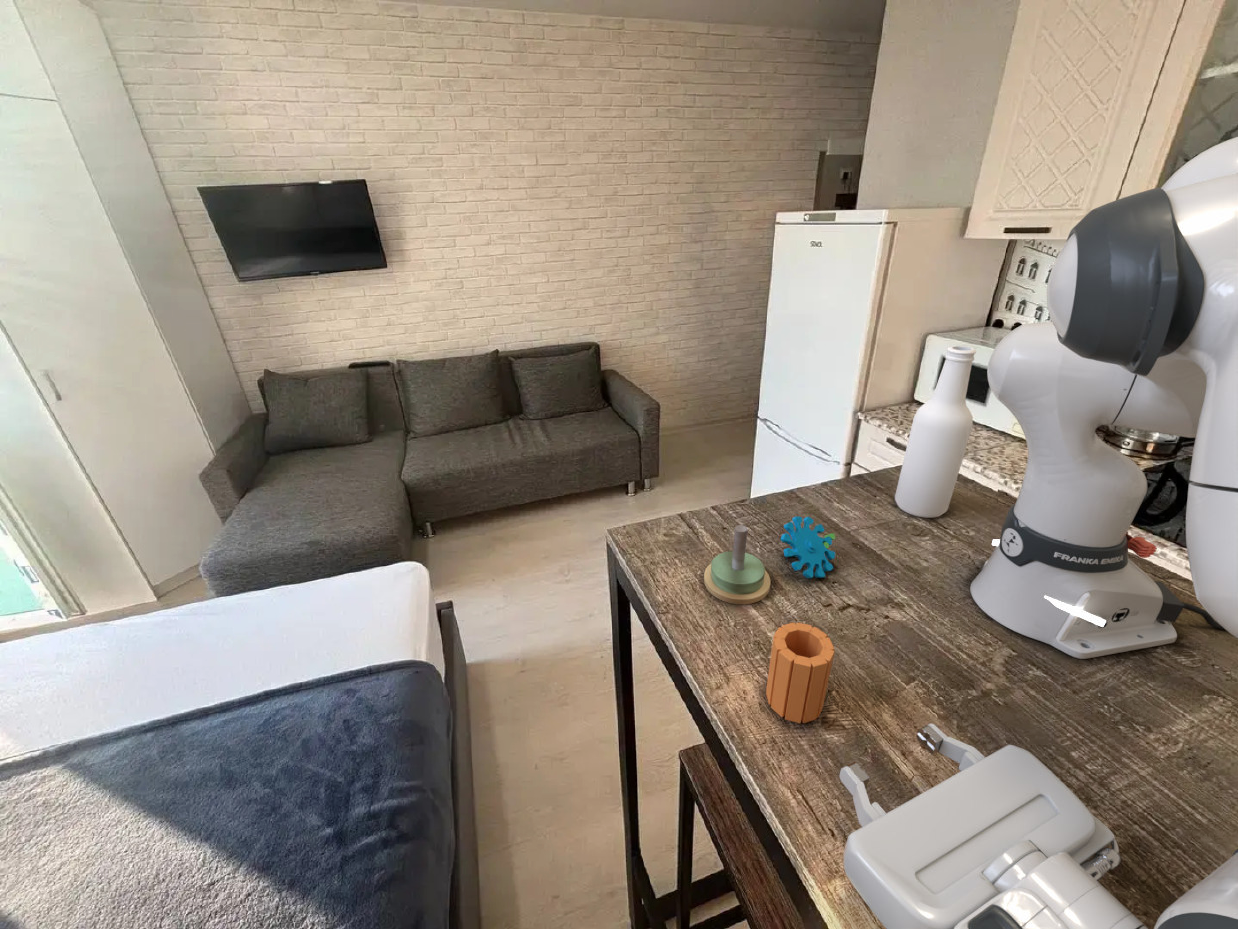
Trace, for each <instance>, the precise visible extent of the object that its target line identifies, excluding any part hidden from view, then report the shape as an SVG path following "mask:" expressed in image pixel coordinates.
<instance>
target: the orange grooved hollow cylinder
mask: <svg viewBox="0 0 1238 929" xmlns="http://www.w3.org/2000/svg"><path fill="white" fill-rule="evenodd" d="M770 652H771V653H770V661H769V666H768V674H767V680H766V681H767V682H766V691H765V696H766V699H767V702H768V705H769V706H770V708H771V709H772V710H773V711H774V713H776V714H777V715H778V716H780V718H784V720H786V721H789V722H793V723H797V724H801V723H802V724H806V723H809V722H812V721H815V720H817V719H818V718H819V717H820V715H821V712H822V711H823V709H824V705H825V700H826V695H827V691H828V686H829V680H830V676H831V672H832V666H833V662H834V657H835V647H834V645H833V642H832V640H831V638H830V637H829V636H828V634H826V633H825V632H824V631H822V630H821V629H819V628H818V627H817V626H813V625H811V624H808V623H802V622H798V621H797V622H796V623H795V622H794V621H793V622H789V623H786V624H782V625H781V626H778V628H777V630H776V631H775V633H774V634H773V637H772V644H771V651H770Z"/></svg>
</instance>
